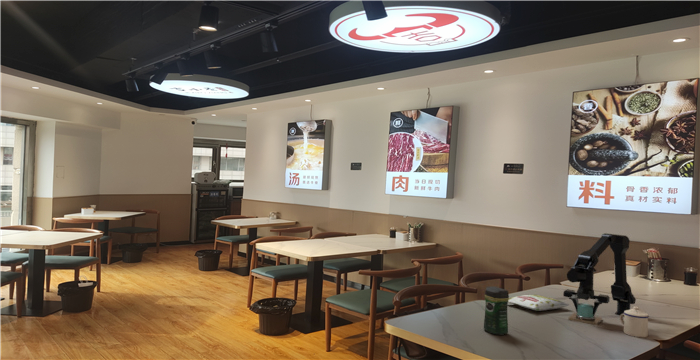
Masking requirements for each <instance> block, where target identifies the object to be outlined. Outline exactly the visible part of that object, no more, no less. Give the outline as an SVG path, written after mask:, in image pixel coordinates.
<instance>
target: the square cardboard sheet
mask: <svg viewBox="0 0 700 360" xmlns="http://www.w3.org/2000/svg"><path fill="white" fill-rule="evenodd" d="M567 320H568V321H573V322H577V323H578V322H579V323H583V324H589V325H594V326H598V325H599V324H600V323H601V322H602V321H603V317H601V316H595V315H594V317H593V318H587V317H582V316H579V315H577V312H574V313H572V314H571V315H570V316H569V317H568V319H567Z"/></svg>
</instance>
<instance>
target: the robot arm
mask: <svg viewBox="0 0 700 360" xmlns="http://www.w3.org/2000/svg"><path fill="white" fill-rule="evenodd" d="M608 247H609V248H610V250H611V251H612V252H613V257H614V258H613V261H614V282H613V284H611V285H610V293H611V297H612V300H613V301H615V302H616V312H615V315H619V316H620V315H621V314H624V311H625V310H630V309H631V305H634V304H636V300H637V299H636V297H635V296H634V294H633V293H632V288H631V286H630V284H629V282H628V279H627V277H628V276H627V257H626V256H627V255H626V252H627V251H628V250H629V248H630V238H629V237H628V236H627V235H622V234H614V233H607V232H605V233H602V234H601V236H600V238H599V239H598V240H597V241H596V242H595V243H594V244H593V245H592V247H590V249H587V250H585V251H582V252H581V253H580V254H579V255H578V256H577V258H576V260H575V262H574V264H573V266H571V267H570V270H568V271H567V273H566V278H567V280H568V281H569V282H570V283H579V284H578V288H577V291H576V290H574V289H569V288H568V289H567V288H566V289H565V290H564V291H563V297H565V298H568V299H569V300H571V301H572V303H573V306H574V307H575V309H574V310H575V311H576V312H575V313H577V308H578V304H579V300H585V301H588V300H589V299H590V300H591V299H592V300H594V302H593V306H594V309H593V316H595V315H596V313H597V311H598V308H599V306H600V305H602V304H609V302H610V296H609V295H608V294H607V295H606V294H601V293H600V294H598V295H596V294H595V291H594V273H595V272H597V269H595V268H596V266H597V264H598V263H599V260H600V259H599V257H600V256H601V255H602V253H604V251H606V249H607V248H608Z"/></svg>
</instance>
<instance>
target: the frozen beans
mask: <svg viewBox="0 0 700 360" xmlns="http://www.w3.org/2000/svg"><path fill="white" fill-rule="evenodd" d="M508 303H509V304H512V305H514V306H518V307H521V308H526V309H528V310H529V309H530V310H532V311H536V312H537V311H539V312H541V311H548V310H549V311H550V310H555V309H556V310H557V309H562V308H566V307H567V306H570V304H569V303H567V302H565V301H562V300H559V299H555V298H552V297H551V298H550V297H547V296H542V295H537V294H528V295H527V294H526V295H519V296H518V295H517V296H513V297H509V300H508Z"/></svg>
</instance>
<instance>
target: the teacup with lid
mask: <svg viewBox="0 0 700 360" xmlns="http://www.w3.org/2000/svg"><path fill="white" fill-rule="evenodd" d="M649 317H650V316H649V314H648V313H647V312H644V311H643V310H642V309H640V308H639V307H638V306H633V308H630V310H625V311H624V314H621V315H619V320H620V322H621V324H622V325H623V333H625V334H626V335H628V336H631V337H634V336H635V337H636V338H647V337H648V335H649V334H648V333H649V332H648V331H649ZM635 337H634V338H635Z"/></svg>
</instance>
